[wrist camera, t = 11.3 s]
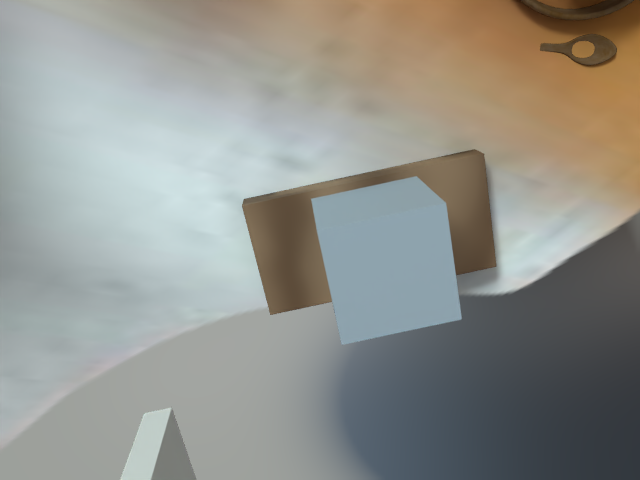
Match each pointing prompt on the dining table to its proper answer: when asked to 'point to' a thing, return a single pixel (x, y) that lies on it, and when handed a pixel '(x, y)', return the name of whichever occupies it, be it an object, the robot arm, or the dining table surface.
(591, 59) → the place setting
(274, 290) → the board
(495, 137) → the dining table surface
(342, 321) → the cube
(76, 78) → the dining table surface
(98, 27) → the dining table surface
